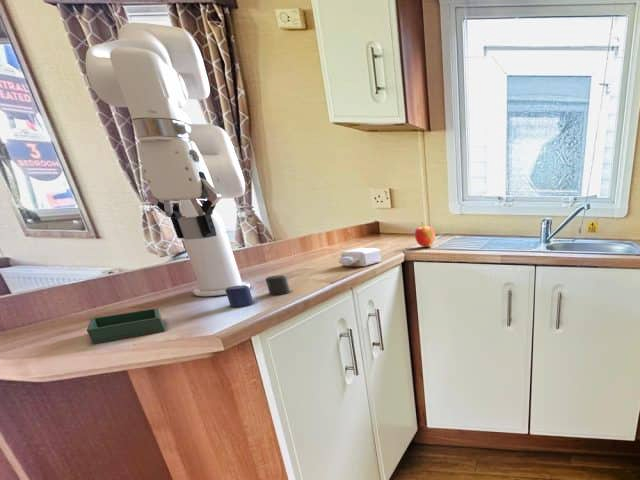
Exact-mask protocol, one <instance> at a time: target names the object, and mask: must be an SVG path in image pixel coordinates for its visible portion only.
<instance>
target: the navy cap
mask: <svg viewBox="0 0 640 480" xmlns="http://www.w3.org/2000/svg"><path fill="white" fill-rule="evenodd" d="M250 289H251V288H249V287H248V286H245V285H240V286H233V287H229V288H227V289H226V290H225V291H226V296H227V300H228V302H229V306H230V307H231V308H243V307H248V306H252V305H253V304H254V300H253V295H252V293H251V290H250Z"/></svg>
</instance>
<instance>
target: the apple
mask: <svg viewBox="0 0 640 480" xmlns="http://www.w3.org/2000/svg"><path fill="white" fill-rule="evenodd" d="M414 238H415V241H416V243H417V244H418V245H419V246H421V247H424V248H429V247H432V245H434V242H435V239H436V233H435V230H434V228H433V227H432V226H430V225H424V223H421V225H419V226H418V227H417V228H416V230H415V231H414Z"/></svg>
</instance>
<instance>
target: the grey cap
mask: <svg viewBox="0 0 640 480" xmlns="http://www.w3.org/2000/svg"><path fill="white" fill-rule="evenodd" d="M177 220H178V222H179V225H180V228H181V231H182V234H183V237H184V239H202V238H210V237H203V236H202V233H201V230H200V227H199V224H198V221H197V218H196V217H182V218H179V219H177Z"/></svg>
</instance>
